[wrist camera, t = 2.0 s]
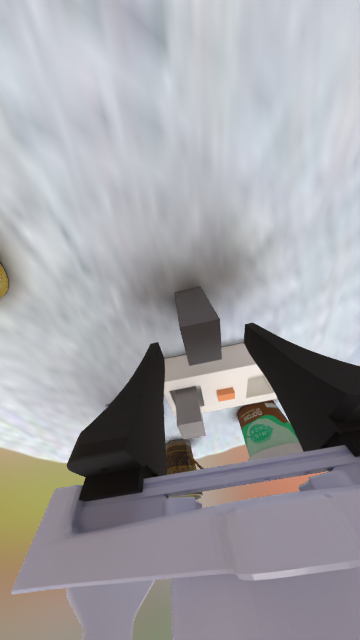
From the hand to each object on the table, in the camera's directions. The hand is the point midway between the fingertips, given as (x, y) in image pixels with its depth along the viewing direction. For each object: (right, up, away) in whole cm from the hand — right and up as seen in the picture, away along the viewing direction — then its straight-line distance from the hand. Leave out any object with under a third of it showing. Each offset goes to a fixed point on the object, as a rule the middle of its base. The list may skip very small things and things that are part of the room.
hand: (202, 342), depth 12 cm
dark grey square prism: (-1, +4, +6) cm, 7 cm away
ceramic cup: (-1, -33, +29) cm, 44 cm away
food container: (+14, -18, +21) cm, 31 cm away
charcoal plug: (-1, -8, +12) cm, 15 cm away
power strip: (+4, -7, +13) cm, 15 cm away
